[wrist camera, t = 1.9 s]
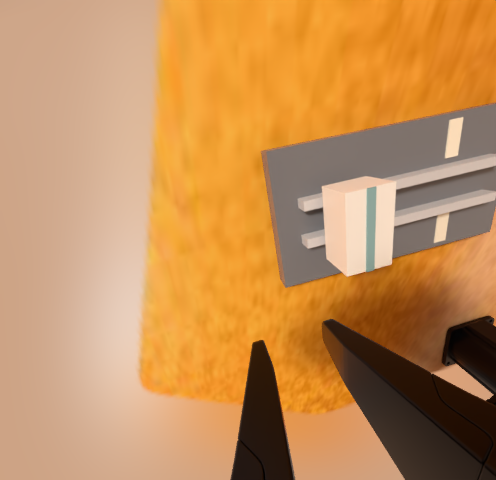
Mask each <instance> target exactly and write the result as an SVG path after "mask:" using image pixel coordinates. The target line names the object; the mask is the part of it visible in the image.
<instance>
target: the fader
mask: <svg viewBox="0 0 496 480" xmlns="http://www.w3.org/2000/svg"><path fill="white" fill-rule="evenodd" d="M322 197H323V213H324V228H325V244H326V259H327V260H328V261H330V262H331V263H332V264H333V265H334V266H335V267H337V268H338V269H339V270H340V271H341V272H342V273H343V274H345V275H346V276H347V277H348V276H351V275H355V274H359V273H362V272H369V271H373V270H374V269H377V268H380V267H384V266H387V265H391V264H392V251H393V233H394V216H395V198H396V181H392V180H386V179H380V178H374V177H368V176H364V177H360V178H355V179H351V180H347V181H342V182H338V183H334V184H329V185H325V186H322Z"/></svg>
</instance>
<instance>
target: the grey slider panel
mask: <svg viewBox="0 0 496 480" xmlns="http://www.w3.org/2000/svg"><path fill="white" fill-rule="evenodd" d="M261 153H262V160H263V166H264V173H265V179H266V186H267V193H268V199H269V206H270V212H271V219H272V225H273V232H274V239H275V245H276V252H277V258H278V265H279V272H280V278H281V281H282V282H283V284H284V286H285V287H286V288H287V287H290V286H294V285H297V284H301V283H305V282H308V281H312V280H316V279H319V278H323V277H327V276H330V275H334V274H337V273H341V271H340V270H339V269H338V268H337V267H335V266H334V265H333V264H332V263H331V262H330V261H328V260H327V259H326V244H325V228H324V213H323V197H322V186H325V185H329V184H334V183H338V182H342V181H347V180H351V179H355V178H360V177H364V176H368V177H374V178H380V179H386V180H392V181H396V198H395V216H394V233H393V251H392V258H396V257H399V256H403V255H406V254H410V253H414V252H417V251H421V250H425V249H428V248H432V247H436V246H439V245H443V244H446V243H450V242H454V241H457V240H461V239H465V238H468V237H472V236H475V235H479V234H483V233H486V232H490V229H491V225H492V220H493V216H494V211H495V207H496V103H491V104H486V105H481V106H476V107H472V108H467V109H462V110H457V111H452V112H447V113H443V114H438V115H433V116H428V117H423V118H418V119H414V120H409V121H404V122H399V123H394V124H389V125H385V126H380V127H375V128H370V129H365V130H360V131H356V132H351V133H346V134H341V135H336V136H331V137H327V138H322V139H317V140H312V141H307V142H302V143H298V144H293V145H288V146H283V147H278V148H273V149H269V150H264V151H261Z"/></svg>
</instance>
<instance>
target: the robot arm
mask: <svg viewBox="0 0 496 480" xmlns="http://www.w3.org/2000/svg"><path fill="white" fill-rule="evenodd" d="M493 323H494V318H493V317H491V316H487V317H484V318H481V319H478V320H475V321H472V322H468V323H465V324H462V325H459V326H456V327H453V328H450V329H449V330H448V334H447V339H446V345H445V350H444V356H443V361H442V363H443V364H444V365H445V366H449V365H452V364H455V363H456V364H458V365H459V366H460V367H461V368H462V369H464V370H465V371H466V372H468V374H470V375H471V376H472V377H473V378H474V379H476V380H477V381H478V382H479V383H480V384H482V385H483V386H484V387H485V388H486V389H488V390H489V391H490V392H491V393H492V394H494V395H493V396H492V397H491V398H490V399H487V400H486V401H485V400H483V399H481V398H479V397H477V396H474V395H472V394H470V393H468V392H466V391H464V390H463V389H461V388H459V387H457V386H455V385H453V384H451V383H449V382H447V381H445V380H444V379H442V378H440V377H438V376H436V375H434V374H431V373H430V372H429V371H427V370H425V369H423V368H421V367H420V366H418V365H416V364H414V363H412V362H410V361H409V360H407V359H405V358H403V357H401V356H399V355H398V354H396V353H394V352H392V351H390V350H388V349H387V348H385V347H383V346H381V345H379V344H377V343H376V342H374V341H372V340H370V339H368V338H366V337H365V336H363V335H361V334H359V333H357V332H356V331H354V330H352V329H350V328H348V327H346V326H345V325H343V324H341V323H339V322H337V321H335V320H333V319H330V320H326V321H323V322H322V333H323V341H324V343H325V345H326V347H327V350H328V352H329V354H330V356H331V358H332V360H333V362H334V364H335V366H336V368H337V370H338V372H339V374H340V376H341V377H342V379H343V381H344V383H345V385H346V387H347V388H348V390H349V391H350V393H351V395H352V396H353V398H354V399H355V401H356V403H357V404H358V406H359V407H360V409H361V410H362V412H363V414H364V415H365V417H366V418H367V420H368V422H369V423H370V425H371V426H372V428H373V429H374V431H375V433H376V434H377V436H378V437H379V439H380V441H381V442H382V444H383V445H384V447H385V448H386V450H387V451H388V453H389V455H390V456H391V458H392V460H393V461H394V463H395V464H396V466H397V467H398V469H399V471H400V472H401V474H402V475H403V477H404V478H405V480H496V327H495V326H494V325H493ZM231 480H295V476H294V470H293V465H292V460H291V455H290V449H289V444H288V439H287V433H286V428H285V423H284V418H283V412H282V407H281V402H280V397H279V392H278V386H277V381H276V376H275V372H274V367H273V364H272V361H271V359H270V356H269V353H268V351H267V348H266V345H265V343H264V341H263V340H259V341H256V342H253V344H252V350H251V356H250V363H249V369H248V376H247V382H246V389H245V395H244V402H243V408H242V415H241V421H240V427H239V434H238V441H237V446H236V453H235V458H234V464H233V469H232V475H231Z"/></svg>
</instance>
